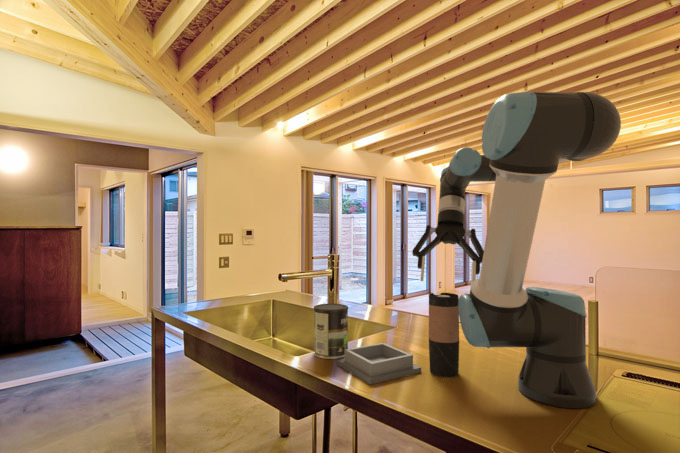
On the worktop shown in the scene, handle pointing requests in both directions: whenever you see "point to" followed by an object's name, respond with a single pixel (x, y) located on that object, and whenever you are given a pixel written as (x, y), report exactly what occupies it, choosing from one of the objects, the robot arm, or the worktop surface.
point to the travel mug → (444, 334)
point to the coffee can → (330, 330)
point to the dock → (378, 363)
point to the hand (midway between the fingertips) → (447, 282)
